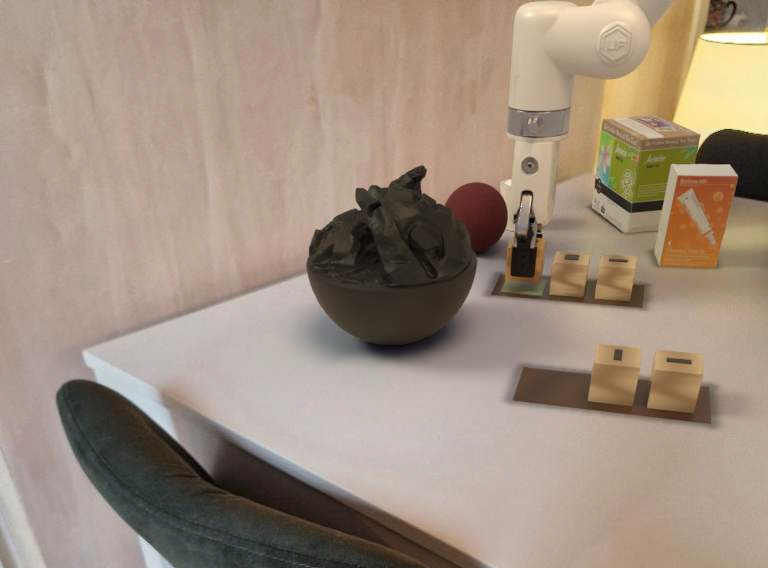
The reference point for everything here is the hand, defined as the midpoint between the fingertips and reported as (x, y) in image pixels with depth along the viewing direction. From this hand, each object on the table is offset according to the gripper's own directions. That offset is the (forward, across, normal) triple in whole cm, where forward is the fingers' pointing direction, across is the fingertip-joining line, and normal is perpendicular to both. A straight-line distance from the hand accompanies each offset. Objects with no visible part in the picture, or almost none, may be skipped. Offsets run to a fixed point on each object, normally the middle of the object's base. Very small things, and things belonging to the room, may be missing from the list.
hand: (525, 267), depth 104 cm
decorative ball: (+3, +14, +10) cm, 18 cm away
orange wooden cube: (+1, 0, 0) cm, 1 cm away
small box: (+3, +16, -21) cm, 27 cm away
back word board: (+3, 0, -6) cm, 7 cm away
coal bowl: (+3, -19, +13) cm, 23 cm away
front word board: (+3, -28, -14) cm, 31 cm away
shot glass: (+3, +28, +5) cm, 28 cm away
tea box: (+3, +35, -14) cm, 37 cm away
